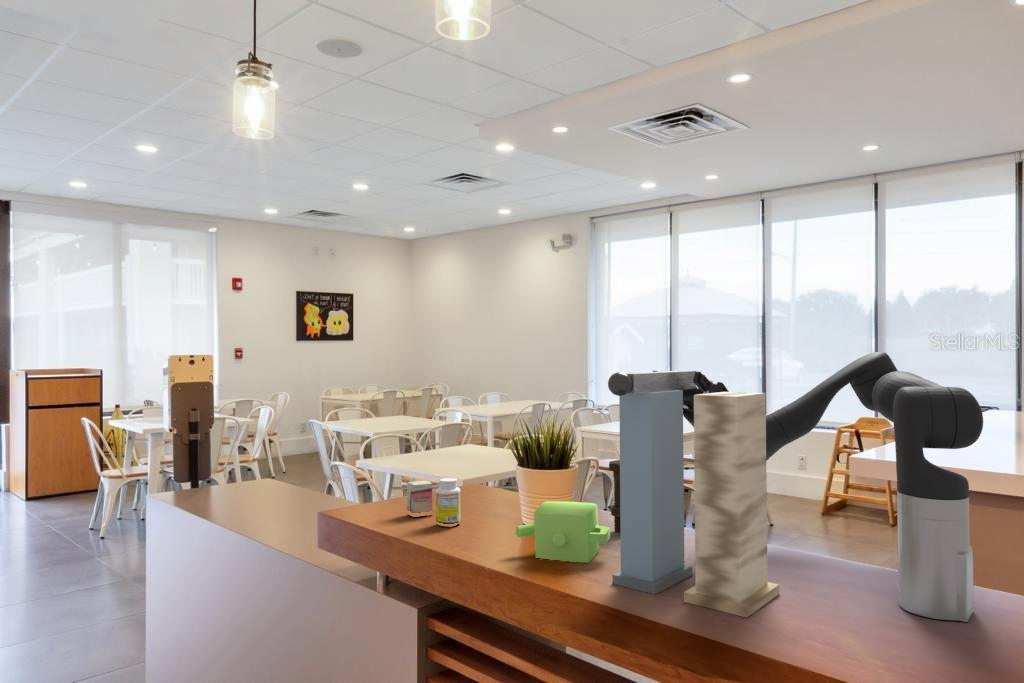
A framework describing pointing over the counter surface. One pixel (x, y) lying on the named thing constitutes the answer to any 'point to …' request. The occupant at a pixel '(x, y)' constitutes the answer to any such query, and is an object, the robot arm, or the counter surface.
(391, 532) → the counter surface
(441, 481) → the supplement bottle
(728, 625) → the counter surface
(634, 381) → the lever bar
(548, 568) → the counter surface
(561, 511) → the gearbox
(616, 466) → the bolt
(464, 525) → the counter surface
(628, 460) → the post
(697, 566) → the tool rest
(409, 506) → the small box
